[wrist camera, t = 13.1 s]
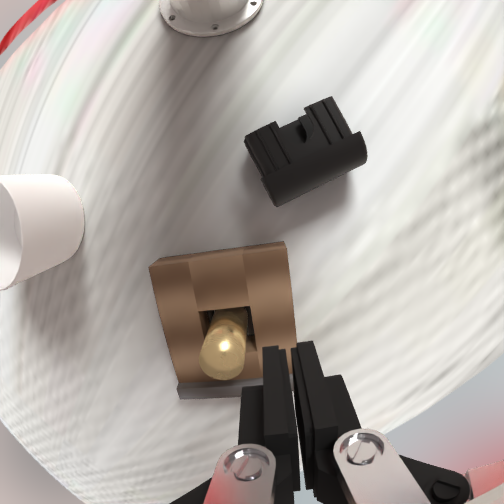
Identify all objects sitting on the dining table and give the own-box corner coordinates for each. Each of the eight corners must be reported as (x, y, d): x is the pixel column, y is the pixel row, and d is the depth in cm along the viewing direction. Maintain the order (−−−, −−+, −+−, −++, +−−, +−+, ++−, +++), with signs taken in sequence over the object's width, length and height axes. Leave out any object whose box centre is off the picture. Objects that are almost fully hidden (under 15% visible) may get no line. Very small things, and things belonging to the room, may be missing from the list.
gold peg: (211, 302, 36) (194, 344, 26) (245, 298, 35) (240, 340, 26) (217, 333, 36) (203, 381, 27) (250, 330, 36) (247, 378, 26)
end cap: (274, 205, 33) (277, 210, 27) (243, 147, 32) (238, 137, 25) (354, 165, 32) (376, 161, 25) (324, 108, 31) (339, 91, 24)
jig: (160, 258, 35) (144, 270, 30) (283, 241, 34) (287, 251, 29) (188, 376, 38) (180, 400, 33) (297, 366, 37) (301, 390, 32)
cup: (100, 237, 34) (40, 260, 23) (44, 277, 36) (-13, 307, 24) (62, 156, 32) (-3, 152, 21) (11, 205, 34) (-49, 215, 22)
